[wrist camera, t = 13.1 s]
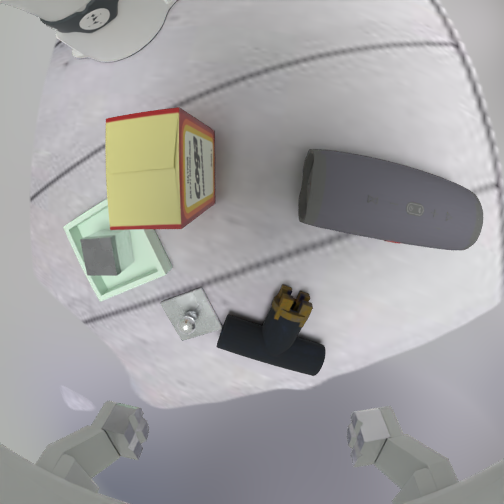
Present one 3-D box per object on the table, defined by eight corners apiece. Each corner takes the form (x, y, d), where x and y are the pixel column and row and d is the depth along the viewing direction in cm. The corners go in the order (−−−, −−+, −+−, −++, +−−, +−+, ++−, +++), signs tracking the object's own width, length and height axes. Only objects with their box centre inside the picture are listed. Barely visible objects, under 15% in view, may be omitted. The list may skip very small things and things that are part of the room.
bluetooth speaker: (294, 218, 37) (303, 237, 28) (304, 147, 34) (318, 140, 25) (437, 243, 37) (475, 264, 27) (449, 183, 34) (491, 191, 25)
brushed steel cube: (106, 262, 39) (87, 275, 34) (101, 229, 38) (80, 239, 33) (134, 261, 39) (117, 275, 34) (129, 227, 38) (110, 237, 32)
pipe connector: (241, 285, 35) (350, 322, 35) (245, 269, 40) (341, 303, 40) (214, 354, 38) (311, 382, 39) (219, 333, 43) (308, 361, 44)
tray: (74, 222, 39) (63, 227, 36) (134, 185, 37) (125, 187, 34) (108, 293, 42) (100, 301, 39) (172, 267, 40) (165, 274, 37)
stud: (161, 301, 41) (151, 315, 37) (201, 286, 40) (194, 300, 36) (183, 338, 43) (175, 355, 39) (222, 326, 42) (218, 343, 38)
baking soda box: (215, 203, 37) (180, 229, 22) (167, 204, 37) (107, 230, 22) (214, 130, 34) (177, 106, 19) (166, 134, 34) (103, 118, 19)
